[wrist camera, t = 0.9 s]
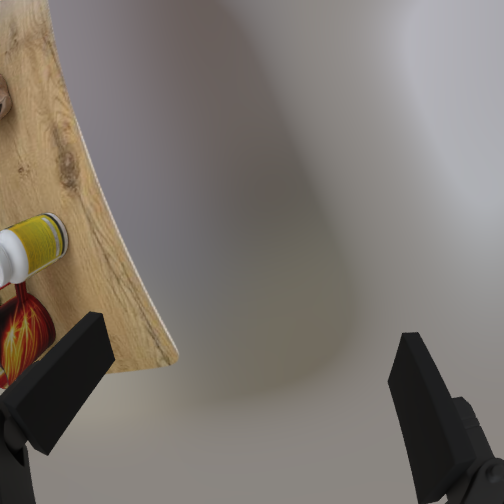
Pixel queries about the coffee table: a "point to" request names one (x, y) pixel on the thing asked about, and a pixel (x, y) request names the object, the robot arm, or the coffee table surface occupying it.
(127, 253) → the coffee table surface
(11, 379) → the mug
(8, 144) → the coffee table surface
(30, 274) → the pill bottle
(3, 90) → the oil lamp
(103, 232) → the coffee table surface
